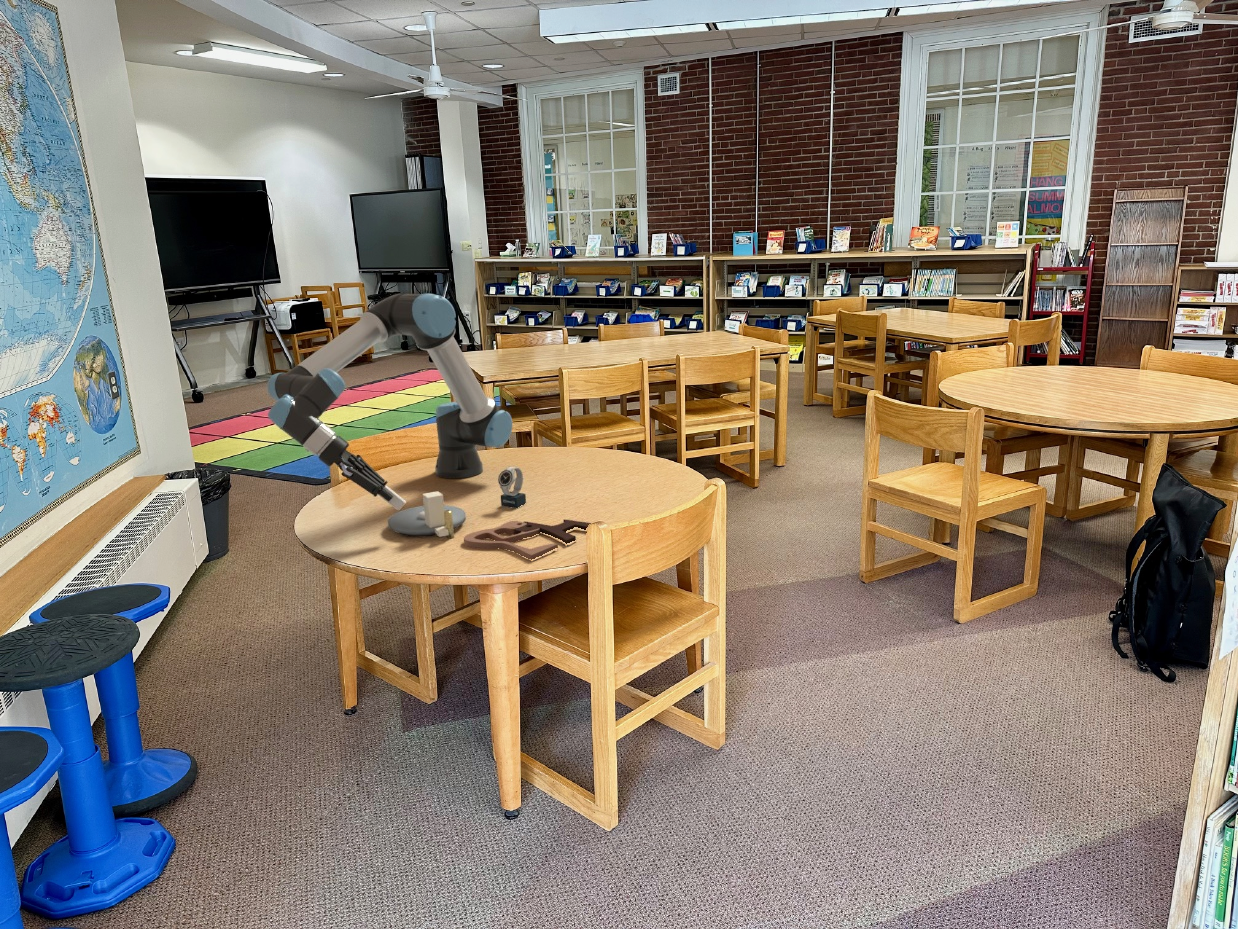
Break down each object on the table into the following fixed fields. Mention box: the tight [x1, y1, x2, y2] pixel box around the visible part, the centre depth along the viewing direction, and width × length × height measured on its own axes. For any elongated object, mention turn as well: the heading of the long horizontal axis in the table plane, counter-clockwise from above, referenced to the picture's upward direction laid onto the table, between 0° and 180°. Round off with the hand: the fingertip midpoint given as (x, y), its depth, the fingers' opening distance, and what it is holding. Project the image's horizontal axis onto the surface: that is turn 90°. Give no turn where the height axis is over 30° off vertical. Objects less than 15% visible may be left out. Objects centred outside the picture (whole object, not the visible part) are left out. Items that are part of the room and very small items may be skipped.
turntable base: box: [397, 526, 458, 538], centre depth 222 cm, size 16×16×1 cm
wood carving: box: [463, 519, 592, 560], centre depth 212 cm, size 28×2×24 cm
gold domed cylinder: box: [444, 510, 455, 540], centre depth 213 cm, size 2×2×7 cm
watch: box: [497, 466, 527, 509], centre depth 236 cm, size 6×8×11 cm
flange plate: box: [387, 490, 467, 538], centre depth 219 cm, size 24×20×9 cm
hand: (402, 506), depth 213 cm, fingers closed
